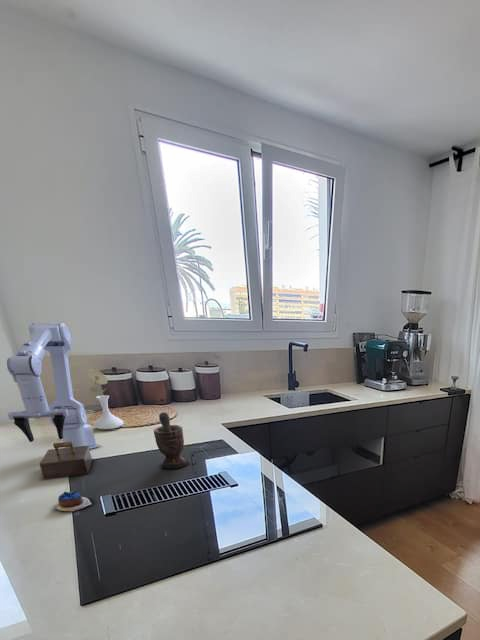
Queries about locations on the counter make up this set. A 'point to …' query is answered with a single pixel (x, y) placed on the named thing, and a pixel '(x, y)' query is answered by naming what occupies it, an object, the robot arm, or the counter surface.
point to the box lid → (64, 454)
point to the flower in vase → (103, 404)
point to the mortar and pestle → (170, 442)
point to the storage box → (67, 468)
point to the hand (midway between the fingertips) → (46, 439)
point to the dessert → (72, 501)
